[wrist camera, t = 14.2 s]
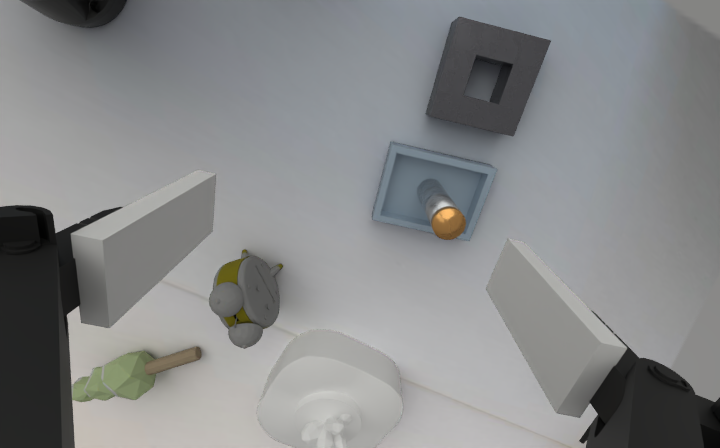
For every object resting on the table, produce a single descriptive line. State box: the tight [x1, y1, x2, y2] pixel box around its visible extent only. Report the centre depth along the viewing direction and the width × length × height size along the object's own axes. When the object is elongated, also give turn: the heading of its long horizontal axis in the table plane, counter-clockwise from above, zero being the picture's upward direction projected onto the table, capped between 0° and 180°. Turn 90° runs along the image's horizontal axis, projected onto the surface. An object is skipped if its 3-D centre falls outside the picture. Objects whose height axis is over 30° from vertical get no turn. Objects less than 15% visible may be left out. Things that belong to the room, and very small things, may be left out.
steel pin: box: [417, 179, 466, 240], centre depth 47 cm, size 4×4×14 cm
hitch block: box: [426, 17, 551, 136], centre depth 46 cm, size 12×12×4 cm
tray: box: [372, 142, 497, 241], centre depth 53 cm, size 16×12×3 cm
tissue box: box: [257, 329, 403, 448], centre depth 64 cm, size 25×25×16 cm
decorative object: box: [71, 347, 201, 402], centre depth 66 cm, size 9×10×25 cm
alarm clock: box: [209, 250, 283, 349], centre depth 54 cm, size 12×7×15 cm, turn 19°
